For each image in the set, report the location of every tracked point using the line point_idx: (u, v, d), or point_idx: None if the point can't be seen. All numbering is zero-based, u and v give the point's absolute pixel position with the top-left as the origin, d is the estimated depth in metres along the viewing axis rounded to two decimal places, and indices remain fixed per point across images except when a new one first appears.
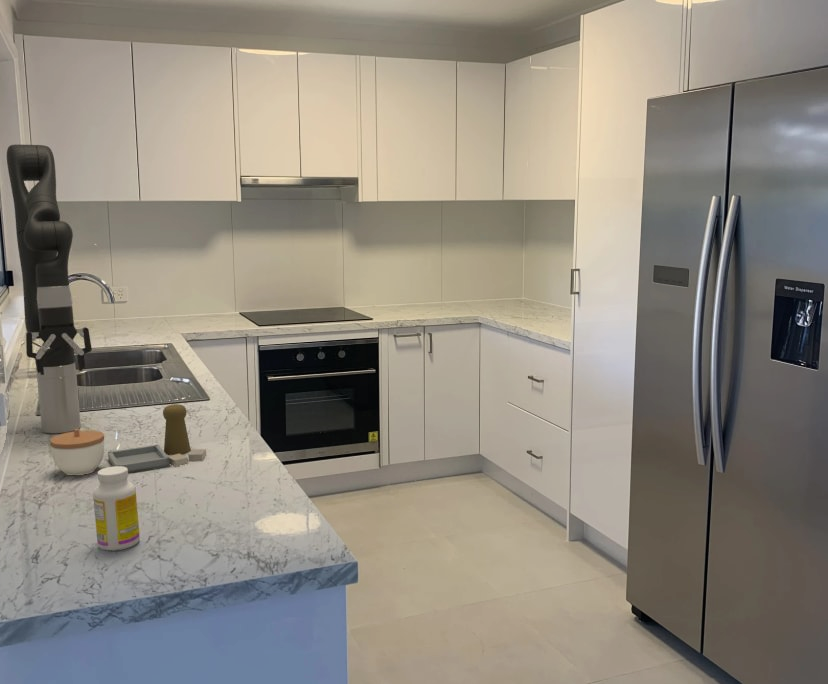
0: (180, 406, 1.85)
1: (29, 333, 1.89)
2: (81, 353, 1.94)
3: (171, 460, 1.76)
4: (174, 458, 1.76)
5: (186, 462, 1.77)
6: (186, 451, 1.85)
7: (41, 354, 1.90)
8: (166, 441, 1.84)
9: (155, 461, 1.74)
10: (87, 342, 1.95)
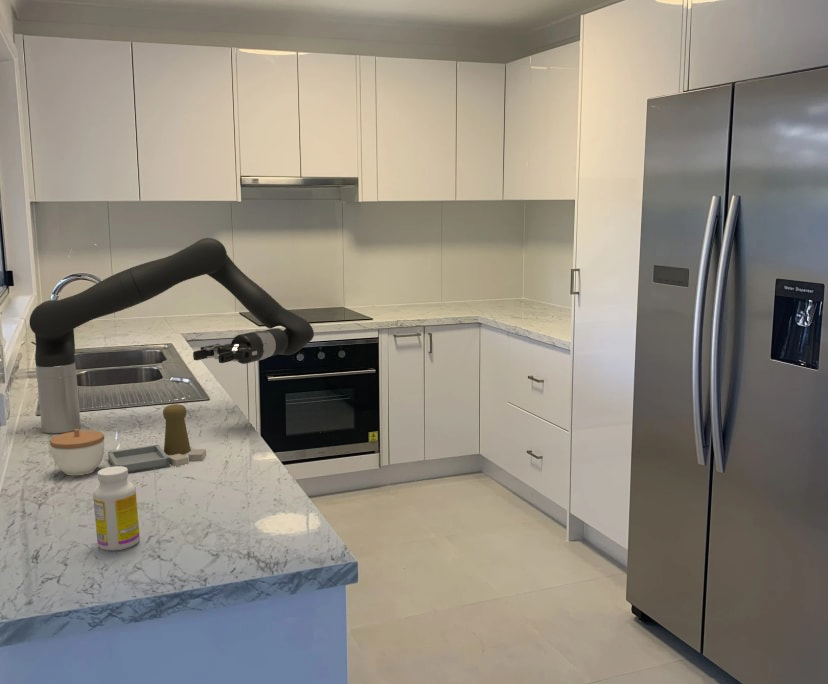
0: (180, 406, 1.85)
1: None
2: (206, 358, 1.99)
3: (171, 460, 1.76)
4: (174, 458, 1.76)
5: (186, 462, 1.77)
6: (186, 451, 1.85)
7: None
8: (166, 441, 1.84)
9: (155, 461, 1.74)
10: None
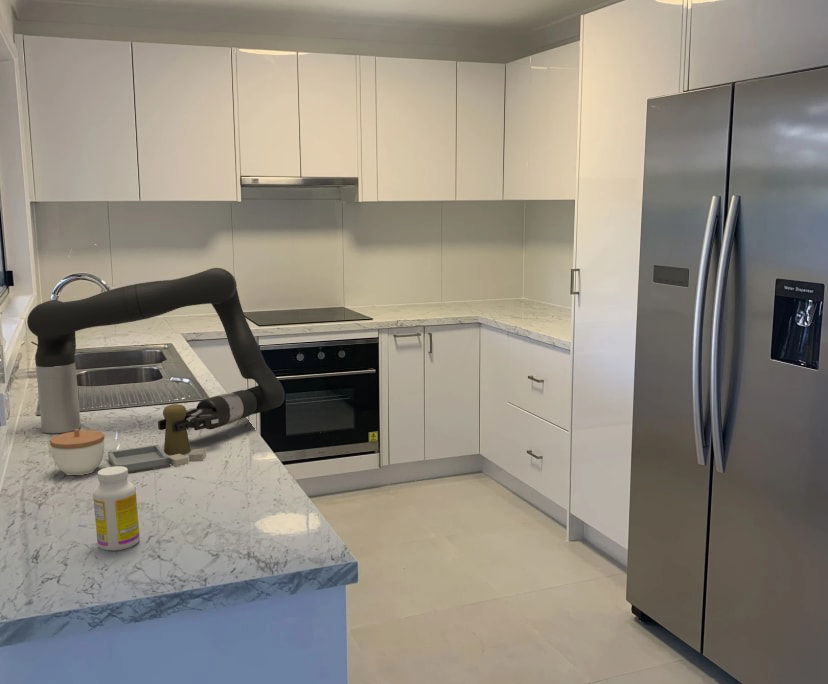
0: (180, 406, 1.85)
1: None
2: None
3: (171, 460, 1.76)
4: (174, 458, 1.76)
5: (186, 462, 1.77)
6: (186, 451, 1.85)
7: None
8: (166, 441, 1.84)
9: (155, 461, 1.74)
10: None
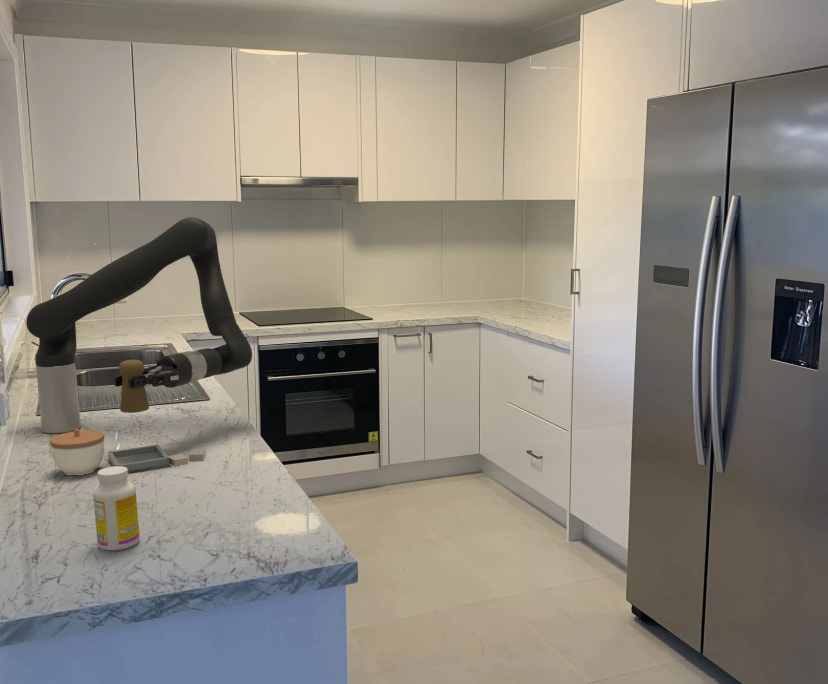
0: (137, 361, 1.75)
1: None
2: None
3: (171, 460, 1.76)
4: (174, 458, 1.76)
5: (186, 462, 1.77)
6: (144, 409, 1.76)
7: None
8: (122, 398, 1.75)
9: (155, 461, 1.74)
10: None
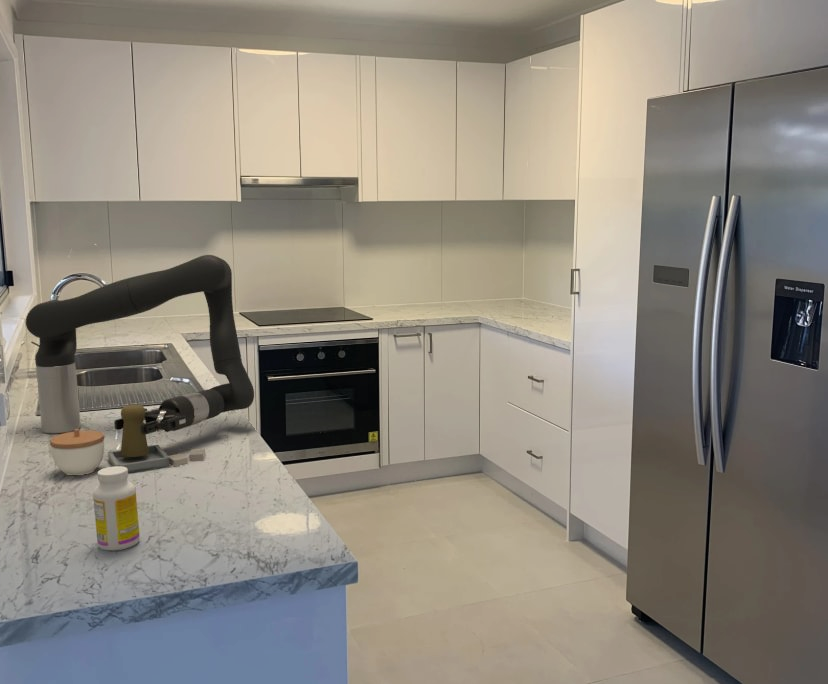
0: (139, 406, 1.78)
1: None
2: None
3: (171, 460, 1.76)
4: (174, 458, 1.76)
5: (186, 462, 1.77)
6: (143, 453, 1.78)
7: None
8: (123, 442, 1.77)
9: (155, 461, 1.74)
10: None
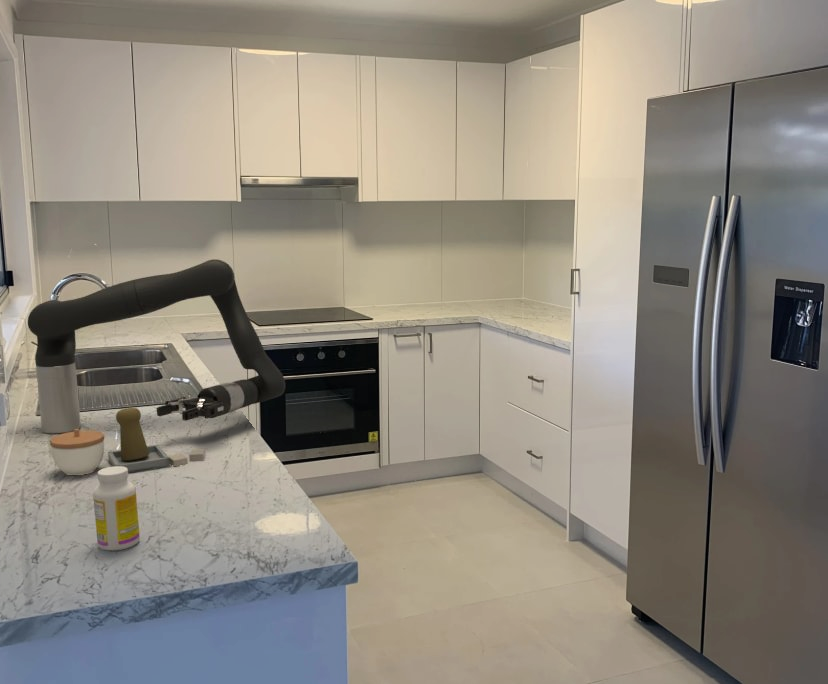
0: (134, 408, 1.78)
1: None
2: None
3: (171, 460, 1.76)
4: (174, 458, 1.76)
5: (185, 462, 1.77)
6: (145, 454, 1.78)
7: None
8: (123, 446, 1.77)
9: (155, 461, 1.74)
10: None
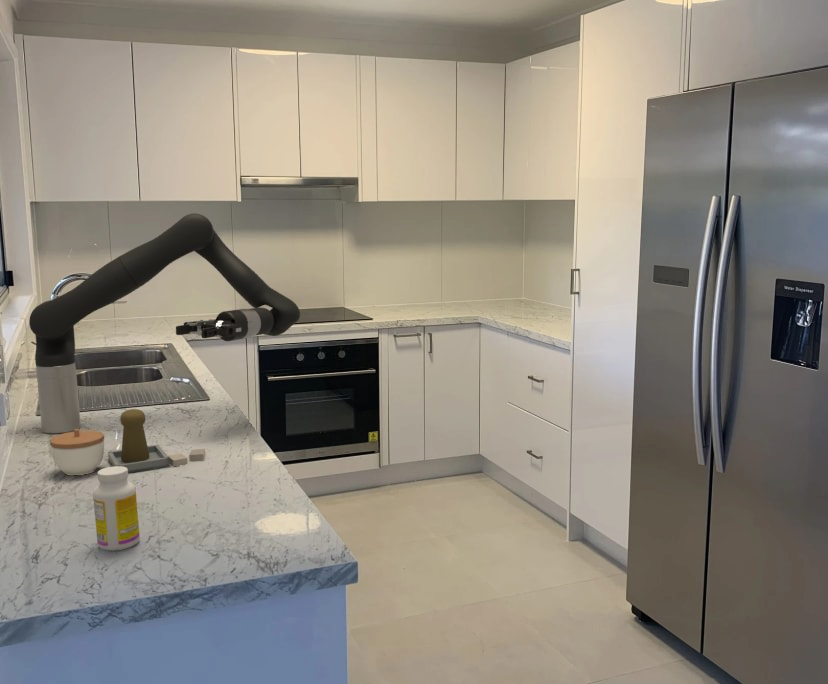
0: (139, 412, 1.76)
1: None
2: (189, 333, 1.95)
3: (171, 460, 1.77)
4: (174, 458, 1.76)
5: (185, 462, 1.77)
6: (146, 457, 1.79)
7: None
8: (125, 448, 1.76)
9: (155, 461, 1.74)
10: None
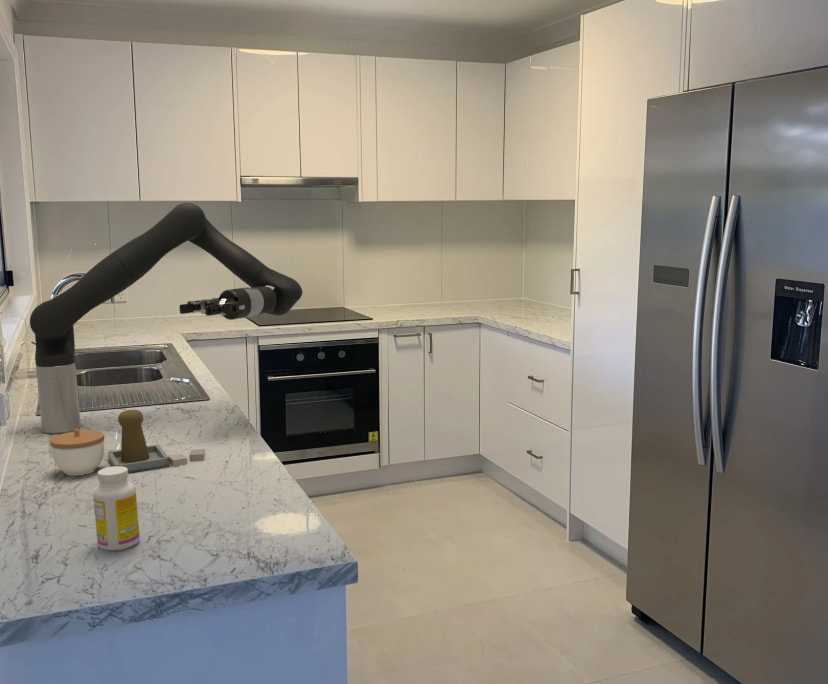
0: (137, 411, 1.78)
1: None
2: (193, 312, 1.95)
3: (171, 460, 1.77)
4: (173, 458, 1.76)
5: (185, 463, 1.77)
6: (147, 457, 1.79)
7: None
8: (125, 449, 1.77)
9: (155, 461, 1.74)
10: None
